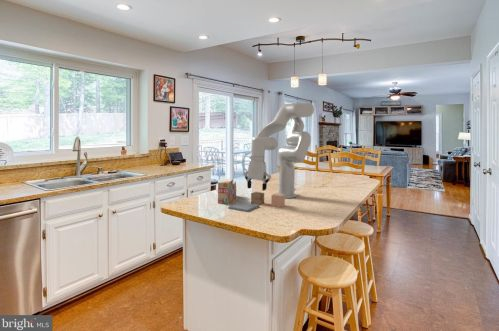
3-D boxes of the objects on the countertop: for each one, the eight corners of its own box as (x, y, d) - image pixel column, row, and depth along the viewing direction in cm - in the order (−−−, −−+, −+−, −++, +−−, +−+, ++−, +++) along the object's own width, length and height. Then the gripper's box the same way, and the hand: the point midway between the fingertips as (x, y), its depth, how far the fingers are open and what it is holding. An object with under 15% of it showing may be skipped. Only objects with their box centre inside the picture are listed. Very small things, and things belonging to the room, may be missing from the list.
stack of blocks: (226, 195, 198) (226, 176, 197) (236, 195, 197) (236, 176, 196) (217, 203, 177) (217, 182, 176) (228, 203, 176) (228, 182, 175)
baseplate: (240, 203, 176) (240, 202, 176) (259, 206, 169) (259, 205, 169) (228, 208, 165) (228, 206, 165) (247, 211, 159) (247, 209, 159)
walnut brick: (255, 201, 182) (256, 191, 181) (264, 203, 179) (264, 192, 178) (251, 203, 177) (251, 193, 176) (259, 205, 174) (259, 194, 173)
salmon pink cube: (275, 203, 177) (276, 193, 176) (284, 205, 174) (284, 194, 174) (271, 205, 172) (271, 195, 172) (280, 207, 170) (280, 196, 169)
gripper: (241, 158, 176) (240, 188, 178) (268, 160, 167) (266, 191, 169) (248, 157, 182) (247, 186, 184) (274, 159, 173) (273, 190, 175)
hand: (256, 189), depth 176 cm, fingers open, 9 cm apart
